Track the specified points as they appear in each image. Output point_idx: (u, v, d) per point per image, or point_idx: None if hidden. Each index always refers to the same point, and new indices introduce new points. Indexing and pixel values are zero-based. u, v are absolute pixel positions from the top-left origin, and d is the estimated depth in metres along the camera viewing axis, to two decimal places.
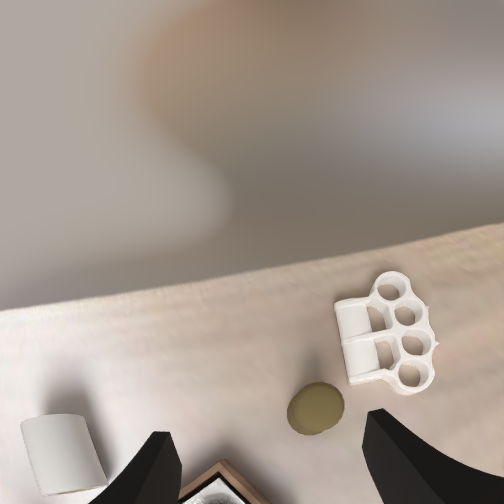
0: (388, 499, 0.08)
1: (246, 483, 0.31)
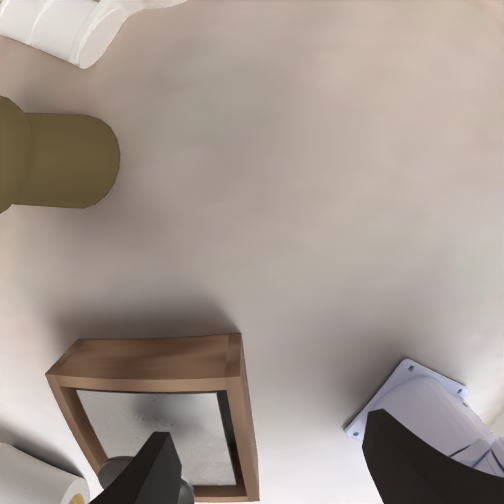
0: (388, 499, 0.08)
1: (119, 351, 0.19)
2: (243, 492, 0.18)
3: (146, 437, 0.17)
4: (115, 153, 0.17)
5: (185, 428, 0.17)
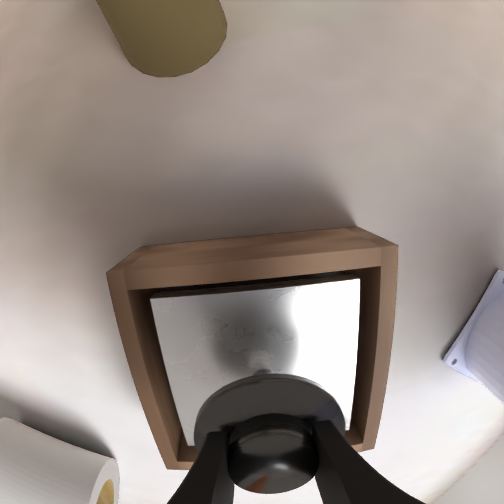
0: None
1: (212, 246, 0.15)
2: (356, 438, 0.15)
3: (248, 366, 0.14)
4: (225, 20, 0.14)
5: (308, 343, 0.14)
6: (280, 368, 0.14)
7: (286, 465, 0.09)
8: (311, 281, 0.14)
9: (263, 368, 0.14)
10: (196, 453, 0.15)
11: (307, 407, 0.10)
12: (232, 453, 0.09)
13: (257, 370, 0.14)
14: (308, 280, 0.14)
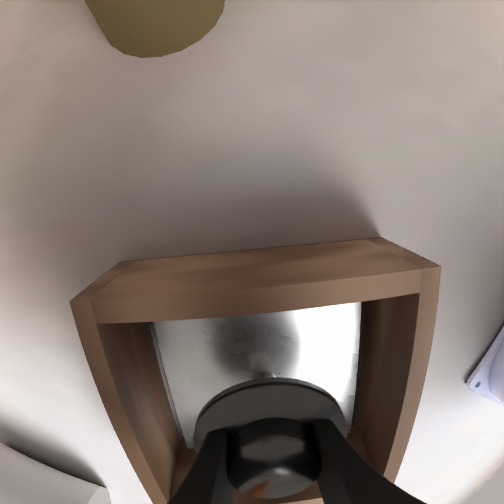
0: None
1: (205, 264, 0.12)
2: None
3: (248, 369, 0.14)
4: None
5: (309, 346, 0.14)
6: (281, 371, 0.14)
7: (287, 470, 0.09)
8: None
9: (264, 371, 0.14)
10: None
11: (308, 411, 0.10)
12: (232, 458, 0.09)
13: (257, 373, 0.14)
14: None
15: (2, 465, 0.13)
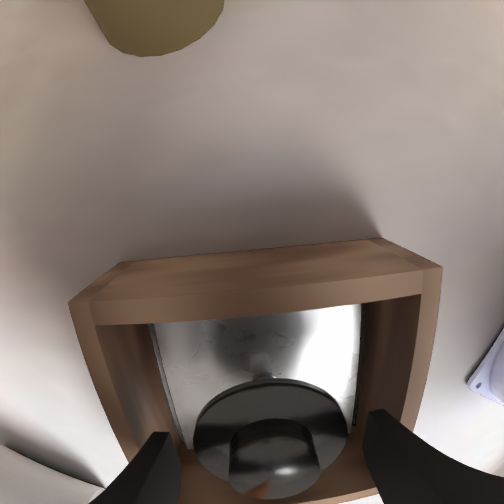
0: (388, 499, 0.08)
1: (205, 265, 0.12)
2: (373, 481, 0.12)
3: (248, 370, 0.14)
4: None
5: (309, 346, 0.14)
6: (281, 371, 0.14)
7: (287, 471, 0.08)
8: None
9: (264, 371, 0.14)
10: (190, 498, 0.12)
11: (309, 412, 0.10)
12: (232, 459, 0.09)
13: (257, 373, 0.14)
14: None
15: (1, 466, 0.13)
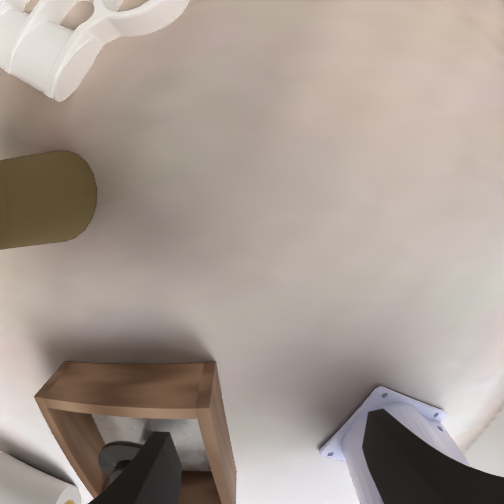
0: (388, 499, 0.08)
1: (101, 376, 0.19)
2: None
3: (138, 427, 0.21)
4: (91, 190, 0.18)
5: (170, 420, 0.20)
6: (157, 430, 0.21)
7: None
8: None
9: (147, 429, 0.21)
10: None
11: None
12: (111, 476, 0.15)
13: (144, 430, 0.21)
14: None
15: (6, 468, 0.20)
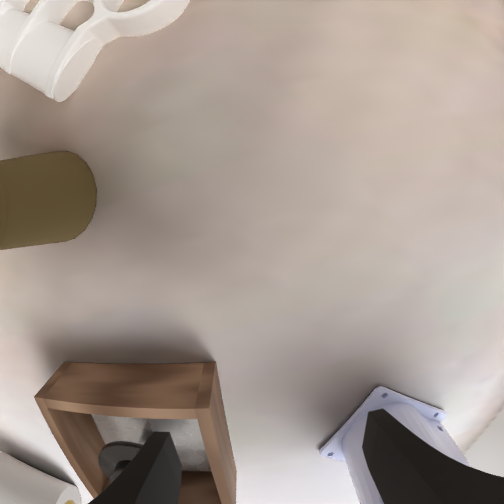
0: (388, 499, 0.08)
1: (101, 376, 0.19)
2: None
3: (138, 427, 0.21)
4: (91, 190, 0.18)
5: (170, 420, 0.20)
6: (157, 430, 0.21)
7: None
8: None
9: (147, 429, 0.21)
10: None
11: None
12: (111, 476, 0.15)
13: (144, 430, 0.21)
14: None
15: (6, 468, 0.20)
